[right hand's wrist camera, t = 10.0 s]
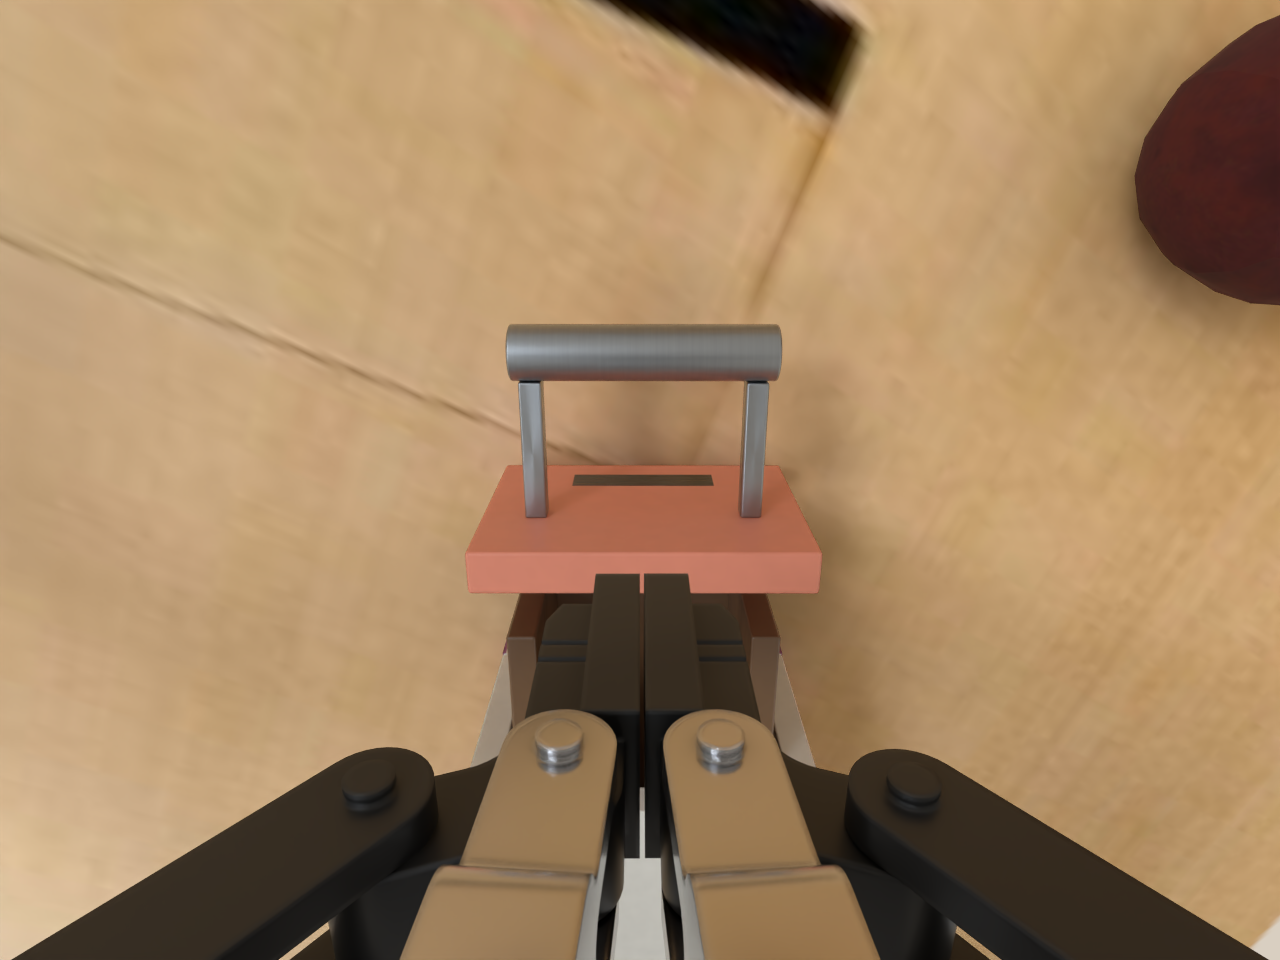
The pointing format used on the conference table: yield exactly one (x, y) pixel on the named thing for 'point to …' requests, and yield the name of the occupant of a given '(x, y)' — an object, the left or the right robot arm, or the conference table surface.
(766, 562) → the drawer
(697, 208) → the conference table surface
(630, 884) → the cabinet
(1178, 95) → the potato
